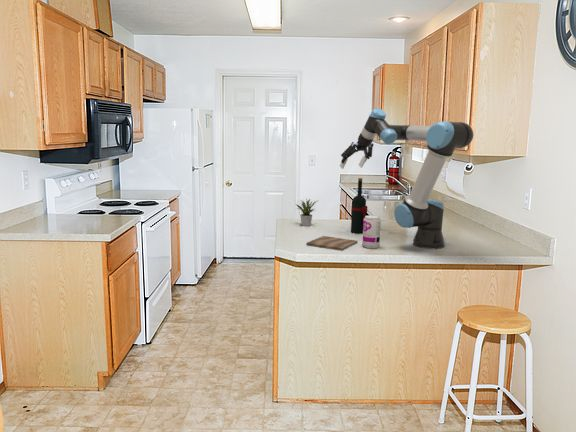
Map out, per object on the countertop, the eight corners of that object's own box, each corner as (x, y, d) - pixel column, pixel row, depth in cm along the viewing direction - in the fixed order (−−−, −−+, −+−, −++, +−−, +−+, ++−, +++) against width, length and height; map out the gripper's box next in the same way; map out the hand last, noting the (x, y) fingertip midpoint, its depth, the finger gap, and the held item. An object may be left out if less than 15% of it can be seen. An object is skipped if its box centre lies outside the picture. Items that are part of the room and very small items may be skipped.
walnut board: (357, 243, 258) (357, 240, 258) (342, 250, 242) (342, 248, 242) (323, 238, 268) (323, 235, 267) (306, 245, 251) (306, 242, 251)
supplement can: (368, 249, 246) (369, 218, 243) (359, 245, 253) (360, 215, 251) (382, 248, 249) (384, 217, 246) (373, 244, 257) (374, 214, 254)
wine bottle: (360, 235, 276) (363, 179, 271) (347, 231, 284) (350, 177, 279) (370, 233, 281) (373, 179, 275) (358, 230, 289) (360, 177, 284)
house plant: (314, 222, 309) (315, 195, 306) (323, 227, 296) (324, 199, 293) (292, 223, 305) (293, 196, 302) (300, 228, 292) (301, 199, 289)
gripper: (380, 131, 279) (364, 161, 292) (345, 131, 265) (329, 163, 279) (388, 139, 275) (371, 170, 288) (352, 140, 261) (336, 172, 274)
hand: (350, 166), depth 283 cm, fingers open, 13 cm apart
